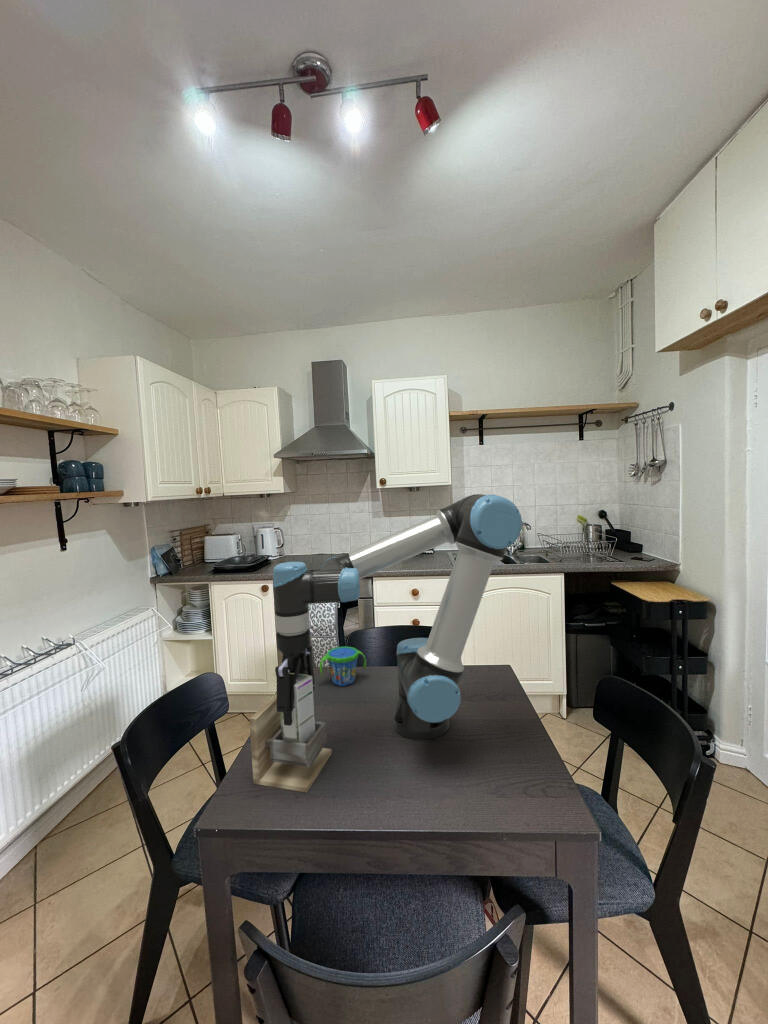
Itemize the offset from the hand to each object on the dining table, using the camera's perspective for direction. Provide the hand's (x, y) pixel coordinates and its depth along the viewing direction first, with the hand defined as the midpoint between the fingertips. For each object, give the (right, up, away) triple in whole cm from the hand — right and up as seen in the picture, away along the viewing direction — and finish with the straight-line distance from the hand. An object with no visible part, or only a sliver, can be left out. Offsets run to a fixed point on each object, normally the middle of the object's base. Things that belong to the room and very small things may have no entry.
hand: (298, 727), depth 101 cm
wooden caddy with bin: (-1, -10, +1) cm, 10 cm away
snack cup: (+6, -7, +45) cm, 46 cm away
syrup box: (0, -3, 0) cm, 3 cm away
